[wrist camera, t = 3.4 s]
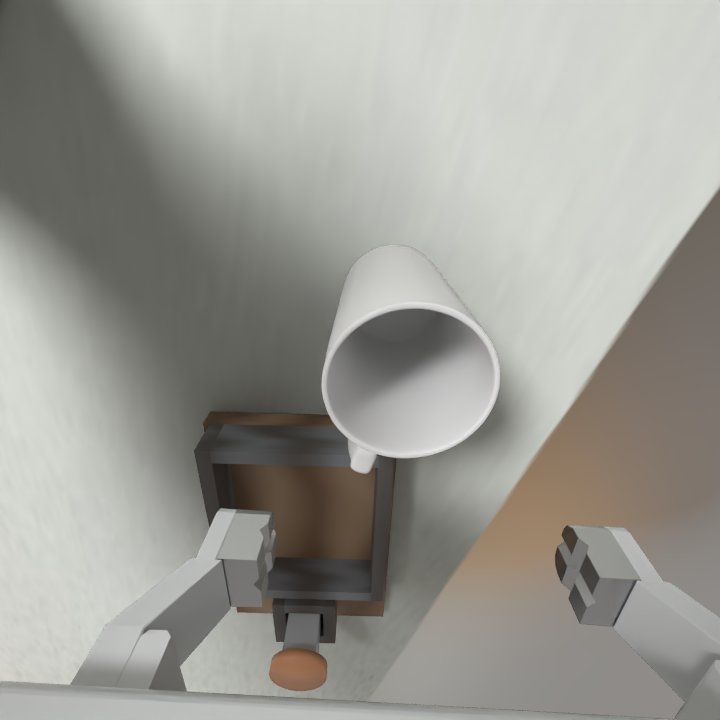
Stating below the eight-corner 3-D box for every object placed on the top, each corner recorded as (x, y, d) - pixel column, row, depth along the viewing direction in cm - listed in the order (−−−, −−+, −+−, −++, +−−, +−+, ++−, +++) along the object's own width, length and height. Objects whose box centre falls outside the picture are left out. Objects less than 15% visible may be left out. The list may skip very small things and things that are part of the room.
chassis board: (241, 596, 40) (227, 646, 36) (210, 411, 30) (186, 450, 26) (382, 601, 40) (384, 650, 36) (397, 417, 30) (401, 456, 26)
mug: (362, 221, 24) (360, 272, 13) (463, 263, 25) (536, 341, 14) (310, 361, 28) (276, 486, 17) (398, 392, 29) (417, 528, 18)
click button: (282, 627, 36) (271, 690, 32) (279, 596, 34) (267, 658, 30) (331, 628, 36) (326, 691, 32) (331, 597, 34) (325, 660, 30)
